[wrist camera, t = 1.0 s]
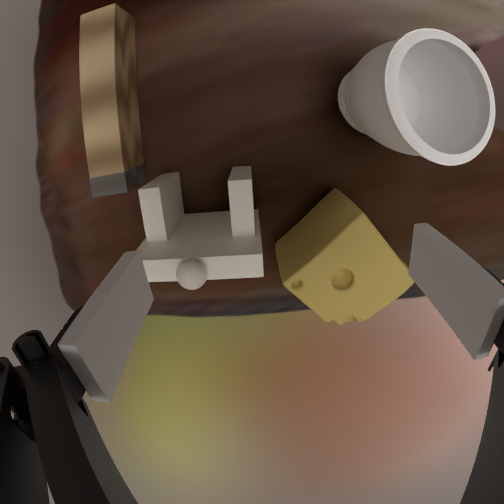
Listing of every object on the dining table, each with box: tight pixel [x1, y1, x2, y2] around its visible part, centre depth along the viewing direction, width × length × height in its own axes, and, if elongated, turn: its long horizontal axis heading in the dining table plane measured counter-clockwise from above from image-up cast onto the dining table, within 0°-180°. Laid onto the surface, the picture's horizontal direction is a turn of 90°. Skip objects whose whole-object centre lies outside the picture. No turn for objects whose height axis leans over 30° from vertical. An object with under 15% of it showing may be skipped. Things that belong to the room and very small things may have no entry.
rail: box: [79, 3, 147, 198], centre depth 25 cm, size 20×4×6 cm, turn 3°
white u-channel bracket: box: [136, 166, 264, 290], centre depth 27 cm, size 7×11×14 cm, turn 93°
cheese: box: [275, 188, 414, 325], centre depth 31 cm, size 10×11×10 cm
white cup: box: [338, 28, 495, 165], centre depth 22 cm, size 11×10×15 cm
